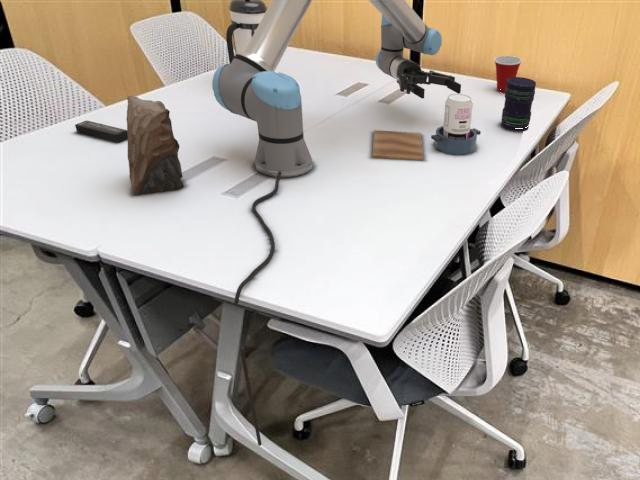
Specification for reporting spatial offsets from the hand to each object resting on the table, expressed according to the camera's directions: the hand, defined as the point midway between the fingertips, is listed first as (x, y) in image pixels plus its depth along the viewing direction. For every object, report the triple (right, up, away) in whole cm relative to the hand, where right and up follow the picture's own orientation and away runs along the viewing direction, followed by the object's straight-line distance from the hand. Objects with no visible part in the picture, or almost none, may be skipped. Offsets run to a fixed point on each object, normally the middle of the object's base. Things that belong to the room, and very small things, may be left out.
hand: (441, 91), depth 180 cm
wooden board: (-14, -17, -1) cm, 22 cm away
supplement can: (+4, -16, +3) cm, 17 cm away
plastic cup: (+24, +22, +52) cm, 62 cm away
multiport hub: (-97, -18, -13) cm, 100 cm away
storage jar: (+25, -3, +22) cm, 33 cm away
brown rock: (-72, -38, -33) cm, 88 cm away
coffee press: (-69, +16, +33) cm, 78 cm away
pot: (+4, -16, +3) cm, 17 cm away
